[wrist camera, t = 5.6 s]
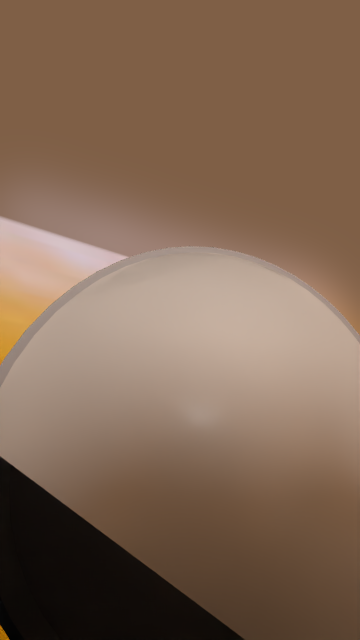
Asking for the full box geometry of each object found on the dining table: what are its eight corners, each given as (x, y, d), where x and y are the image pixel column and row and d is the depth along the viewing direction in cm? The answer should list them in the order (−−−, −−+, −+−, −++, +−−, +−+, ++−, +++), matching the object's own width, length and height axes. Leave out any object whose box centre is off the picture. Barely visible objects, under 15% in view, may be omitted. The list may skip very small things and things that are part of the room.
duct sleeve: (166, 460, 14) (449, 901, 2) (85, 432, 13) (-283, 791, 1) (191, 379, 16) (409, 328, 4) (122, 351, 15) (115, 190, 3)
